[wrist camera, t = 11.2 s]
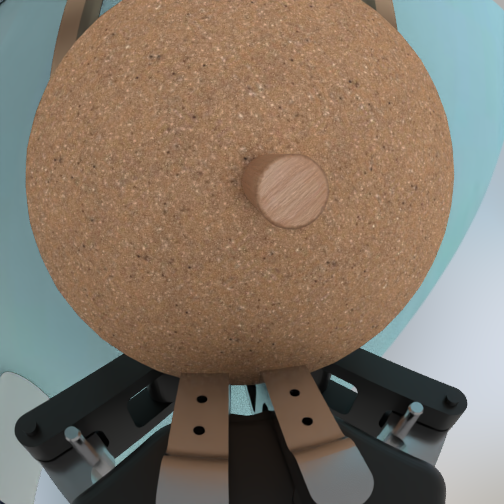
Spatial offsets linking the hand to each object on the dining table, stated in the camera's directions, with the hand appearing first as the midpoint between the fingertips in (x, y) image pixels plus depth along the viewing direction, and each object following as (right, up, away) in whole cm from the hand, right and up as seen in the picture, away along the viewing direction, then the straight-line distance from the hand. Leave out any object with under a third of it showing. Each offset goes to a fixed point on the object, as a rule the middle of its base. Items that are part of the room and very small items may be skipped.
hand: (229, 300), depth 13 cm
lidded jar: (0, +6, -1) cm, 6 cm away
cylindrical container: (-20, -12, +3) cm, 24 cm away
